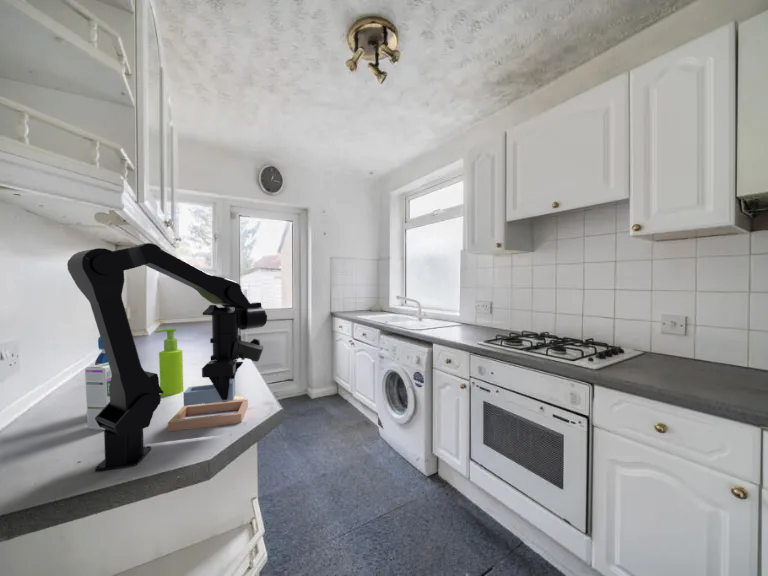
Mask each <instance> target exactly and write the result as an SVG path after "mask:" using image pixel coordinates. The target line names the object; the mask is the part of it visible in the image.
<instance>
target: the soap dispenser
mask: <svg viewBox="0 0 768 576" xmlns="http://www.w3.org/2000/svg"><path fill="white" fill-rule="evenodd" d="M176 331H177V329H176V328H160V329H157V330H155V331H153V333H155V334H158V333H164V332H166V339H164V340H163V350H162V351H159V353H158V363H159V367H158V368H159V386H160V388H161V390H162V391H163V393H159V394H160V396H163V397H165V396H166V397H167V396H174V395H178V394H181V393H184V370H183V369H184V368H183V367H184V366H183V361H184V360H183V349H181V348H180V349H178V339H177V338H176V337H175V332H176ZM174 337H175V338H174Z"/></svg>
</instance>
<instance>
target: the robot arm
mask: <svg viewBox="0 0 768 576" xmlns="http://www.w3.org/2000/svg"><path fill="white" fill-rule="evenodd" d="M66 265H67V270H68V273H69V274H70V276H71V278H72V280H73V282H74V283H75V285H76V287H77V288H78V289H79V291H80V292H81V293H82V294H83V296H84V297H85V298H86V299H87V300H88V302H89V304H90V307H91V311H92V314H93V317H94V321H95V323H96V327H97V330H98V333H99V337H101V340H102V344H103V347H104V350H105V353H106V357H107V360H108V363H109V366H110V370H111V374H112V376H111V381H110V386H109V394H110V402H109V403H108V404H107V405H106V406H105V408H104V409H103V410H102V411H101V412H100V413H99V414H98V415H97V416H96V417H95V420H96V422H97V424H98V426H99V427H102V428H105V430H103V437H104V439H103V441H104V445H103V446H104V458H103V460H102V461H101V462H100V463H98V464H97V466H96V467H95V468H94V471H96V472H97V471H106V470H112V469H120V468H126V467H134V466H137V465H139V463H140V462H141V461H143V459H144V458H145V457H146V456H147V455H148V453H149V452H150V451H151V450H152V446H151V445H149V446H145V444H144V429H146V428H148V427H150V424H151V421H152V418H153V416H154V412H156V410H157V409H158V406H160V404H161V401H162V399H161V395H160V393H163V391H162V390H161V388H160V377H159V376H158V373H155V372H151V371H146V370H144V369H143V366H142V364H141V360H140V356H139V353H138V350H137V349H138V348H137V347H136V343H135V339H134V335H133V332H132V329H131V326H130V322H129V318H128V315H127V311H126V307H125V304H124V301H123V297H122V296H123V295H122V294H123V291H124V284H125V272H124V271H128V270H131V269H135V268H139V267H142V266H146V267H148V268H151V270H154V271H157V272H158V273H161V274H163V275H165V276H166V277H169V278H171V279H173V280H175V281H177V282H180V283H181V284H184V285H186V286H188V287H190V288H192V289H194V290H196V291H197V292H198V293H199V294H200V296H201V297H202V298H204V299H205V300H207V301H208V302H209V303H211V304H210V305H208V307H207V309H205V310H204V311H203V312H202V315H203V316H211V325H212V326H211V327H212V328H211V329H212V332H211V333H212V335H211V336H212V337H211V338H210V339H209V340H210V341H209V343H210V344H212V355H211V356H210V360H209V361H208V362H207V363H206V364H205V365H204V366H203V367H202V368H201V377H202V378H208V379H209V380H210V382H211V384H212V385H214V386H215V388H216V390H217V392H218V393H219V395H220V397H221V399H222V400H227V399H228V393H229V387H230V380H231V379H234V378H235V379H236V376H237V375H236V374H237V372H238V369H239V368H240V367H242V365H243V363H244V362H243V360H244V361H245V359H247V360H251V362H259V361H260V358H261V356H262V354H263V351H264V345H261V343H260V341H261V340H260V339H258V338H253V339H252V340H251V341H250V342H249V341H245V340H242V335H240V334H239V330H240V331H244V330H252V329H257V328H258V329H259V328H263V327H264V326H266V323H267V321H268V314H267V313H266V310H265V309H264V307H263V306H262V302H250V301H249V300H248V298H247V297H246V296H245V294H244V293H243V290H242V285H240V283H238V282H237V281H235V280H231V279H229V278H226V277H222V276H218V275H213V274H211V273H208V272H205V271H203V270H202V269H200V268H198V267H196V266H194V265H192V264H190V263H189V262H187V261H185V260H184V259H182V258H179V257H177V256H176V255H174V254H172V253H170V252H169V251H166V250H164V249H162V248H161V247H160V246H159V245H158V244H155V243H153V242H147V243H141V244H136V245H135V246H133V247H132V246H131V247H126V248H123V249H117V250H111V249H107V248H105V247H104V248H103V247H102V248H100V247H98V248H91V249H87V250H81V251H78V252H75V253H74V254H73V255H72V256H71V257H70V258H69V259H68V260H67V264H66ZM217 305H220V306H221V307H219V306H217ZM232 308H233V309H234V310H233V309H232ZM238 359H241V361H238Z"/></svg>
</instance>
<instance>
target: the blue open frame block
mask: <svg viewBox="0 0 768 576" xmlns="http://www.w3.org/2000/svg"><path fill="white" fill-rule="evenodd" d="M182 393H183V406H191V405H201V404H205V403H214V402H223V401H231V400H233V399H234V397H235V396H236V377H235V378H234V379H231V380H230V387H229V393H228V399H227V400H222V399H221V397H220V395H219V393H218V392H217V390H216V388H215V386H214V385H213V384H207V385H196V386H188V387H187V389H186V390H185V391H183V392H182Z"/></svg>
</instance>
